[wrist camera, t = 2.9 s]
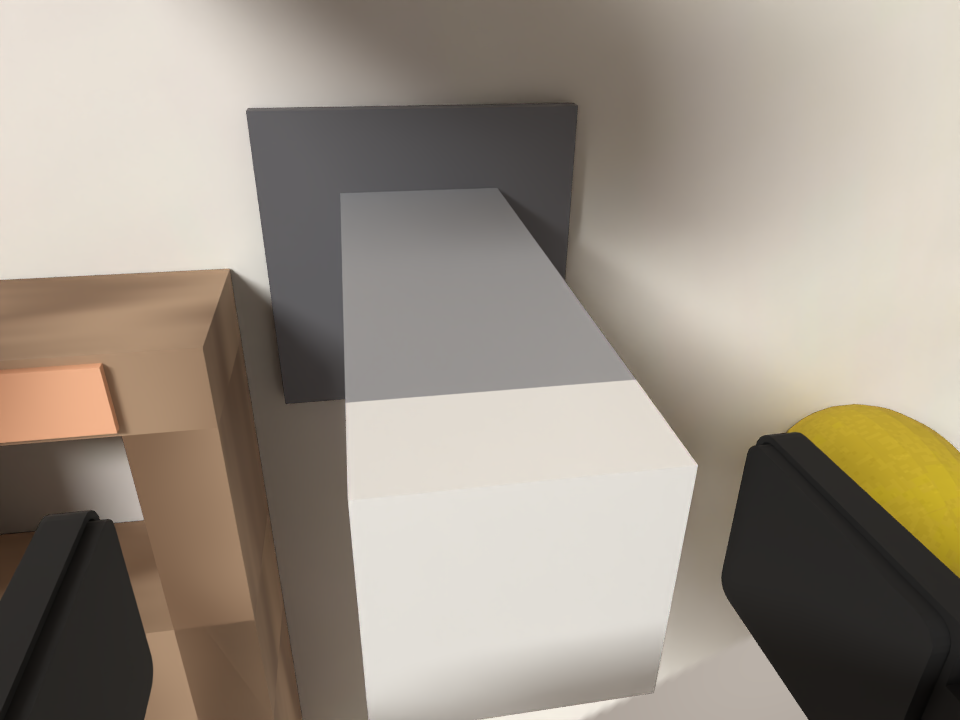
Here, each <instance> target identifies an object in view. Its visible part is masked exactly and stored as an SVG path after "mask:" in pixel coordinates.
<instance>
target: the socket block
mask: <svg viewBox="0 0 960 720" xmlns="http://www.w3.org/2000/svg"><path fill="white" fill-rule="evenodd" d="M114 436H122V439H123V443H124V446H125V450H126V454H127V458H128V461H129V465H130V469H131V473H132V476H133V480H134V484H135V487H136V491H137V495H138V499H139V502H140V506H141V510H142V513H143V517H144V521H134V522H124V523H114V526H115V528H116V532H117V535H118V539H119V542H120V546H121V550H122V553H123V557H124V560H125V564H126V567H127V571H128V574H129V578H130V581H131V585H132V588H133V592H134V596H135V599H136V603H137V606H138V610H139V613H140V617H141V620H142V624H143V627H144V631H145V635H146V638H147V642H148V645H149V649H150V652H151V656H152V661H153V683H152V688H151V693H150V697H149V701H148V706H147V710H146V714H145V718H144V720H302V714H301V707H300V701H299V695H298V689H297V683H296V676H295V670H294V664H293V658H292V652H291V645H290V639H289V633H288V627H287V621H286V615H285V608H284V602H283V596H282V590H281V584H280V577H279V571H278V565H277V559H276V553H275V546H274V540H273V534H272V528H271V522H270V516H269V509H268V503H267V497H266V491H265V485H264V478H263V472H262V466H261V460H260V454H259V447H258V441H257V435H256V429H255V423H254V417H253V410H252V404H251V398H250V392H249V386H248V379H247V373H246V367H245V361H244V355H243V349H242V342H241V336H240V330H239V324H238V318H237V311H236V305H235V299H234V293H233V287H232V280H231V274H230V269H215V270H195V271H175V272H155V273H134V274H114V275H94V276H74V277H54V278H34V279H13V280H0V446H5V445H17V444H30V443H42V442H54V441H66V440H78V439H90V438H102V437H114ZM35 532H36V531H34V532H24V533H14V534H4V535H0V600H1V598H2V596H3V594H4V592H5V590H6V588H7V586H8V584H9V582H10V580H11V579H12V577H13V575H14V573H15V571H16V569H17V567H18V565H19V563H20V561H21V559H22V557H23V555H24V553H25V551H26V549H27V547H28V545H29V543H30V541H31V539H32V537H33V536H34V534H35Z"/></svg>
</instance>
